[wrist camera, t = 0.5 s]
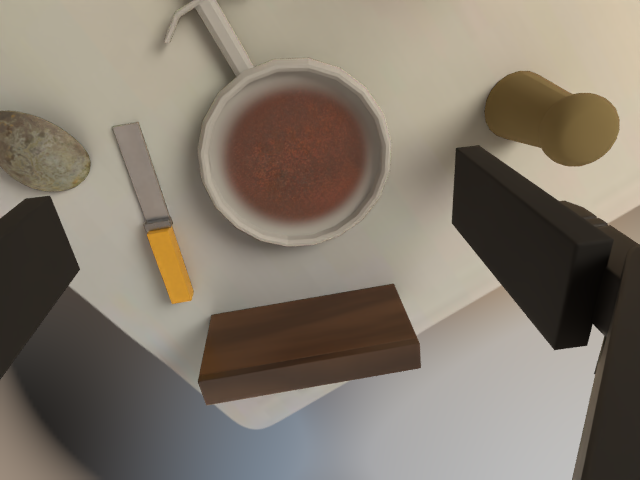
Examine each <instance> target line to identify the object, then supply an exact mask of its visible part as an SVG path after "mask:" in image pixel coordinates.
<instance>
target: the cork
mask: <svg viewBox="0 0 640 480" xmlns="http://www.w3.org/2000/svg"><path fill="white" fill-rule="evenodd" d="M484 112H485V120H486V123H487V125H488V127H489V129H490V130H491V131H492V132H493V133H494V134H496V135H497V136H499V137H502V138H505V139H509V140H513V141H517V142H520V143H524V144H528V145H532V146H536V147H540V148H542V150H543V151H544V153H545V154H546V155H547V156H548V157H549V158H550V159H551V160H553V161H554V162H556V163H559V164H562V165H565V166H583V165H586V164H589V163H592V162H594V161H596V160H597V159H599V158H601V157H602V156H604V155H605V154H606V153H607V152H608V151H609V150H610V149H611V147H612V145H613V144H614V142H615V141H616V139H617V135H618V132H619V116H618V114H617V111H616V108H615V107H614V106H613V105H612V104H611V103H610V102H609V101H608V100H607V99H606V98H604V97H601V96H599V95H596V94H592V93H578V94H571V93H569V92H567V91H566V90H564V89H562V88H561V87H559V86H557V85H555V84H554V83H552V82H550V81H548V80H547V79H545V78H543V77H541V76H540V75H538V74H535V73H533V72H530V71H518V72H515V73H512V74H509V75H507V76H506V77H504V78H503V79H502V80H500V81H499V82H498V83H497V84H496V85H495V87H494V88H493V89H492V90H491V92H490V94H489V96H488V98H487V100H486V105H485V111H484Z"/></svg>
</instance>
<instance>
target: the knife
mask: <svg viewBox="0 0 640 480" xmlns="http://www.w3.org/2000/svg"><path fill="white" fill-rule="evenodd" d="M112 128H113V131H114V133H115V136H116V139H117V142H118V144H119V147H120V150H121V153H122V155H123V158H124V161H125V164H126V167H127V169H128V172H129V175H130V178H131V180H132V183H133V186H134V189H135V192H136V194H137V197H138V200H139V203H140V205H141V208H142V211H143V214H144V216H145V219H146V222H145V223H144V227H145V230H146V232H148V231H149V232H148V233H147V237H148V240H149V242H150V245H151V248H152V251H153V253H154V256H155V259H156V261H157V264H158V267H159V270H160V272H161V275H162V278H163V281H164V283H165V286H166V289H167V292H168V294H169V297H170V300H171V302H172V304H175V303H180V302H186V301H191V300H192V296H193V293H194V291H193V288H192V285H191V282H190V279H189V276H188V273H187V270H186V267H185V264H184V261H183V258H182V255H181V252H180V249H179V246H178V243H177V240H176V237H175V234H174V231H173V228H172V224H173V222H172V219H171V217H169V213H168V210H167V207H166V204H165V201H164V198H163V194H162V191H161V188H160V185H159V182H158V179H157V176H156V173H155V170H154V167H153V164H152V161H151V158H150V155H149V152H148V149H147V146H146V143H145V140H144V137H143V134H142V131H141V128H140V125H139V122H136V123H130V124H124V125H118V126H113V127H112Z"/></svg>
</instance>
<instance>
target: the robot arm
mask: <svg viewBox="0 0 640 480" xmlns="http://www.w3.org/2000/svg"><path fill="white" fill-rule="evenodd" d="M452 224H453V225H454V226H455V228H456V229H457V230H458V231H459V233H460V234H461V235H462V236H463V238H464V239H465V240H466V241H467V243H468V244H469V245H470V246H471V247H472V249H473V250H474V251H475V252H476V254H477V255H478V256H479V257H480V259H481V260H482V261H483V262H484V264H485V265H486V266H487V267H488V269H489V270H490V271H491V272H492V273H493V275H494V276H495V277H496V278H497V280H498V281H499V282H500V283H501V285H502V286H503V287H504V288H505V290H506V291H507V292H508V293H509V294H510V296H511V297H512V298H513V299H514V301H515V302H516V303H517V304H518V306H519V307H520V308H521V309H522V310H523V312H524V313H525V314H526V315H527V317H528V318H529V319H530V320H531V322H532V323H533V324H534V325H535V327H536V328H537V329H538V330H539V331H540V333H541V334H542V335H543V336H544V338H545V339H546V340H547V341H548V343H549V344H550V345H551V346H552V348H553V349H554V350H558V349H565V348H573V347H580V346H587V344H588V340H589V336H590V332H591V328H592V324H594V325H595V327H596V328H598V330H599V331H600V332H601V333H603V334H604V340H603V344H602V347H601V351H600V355H599V359H598V362H597V366H596V369H595V373H594V374H595V378H594V383H593V387H592V392H591V396H590V401H589V406H588V410H587V415H586V419H585V424H584V428H583V433H582V438H581V442H580V447H579V451H578V455H577V460H576V464H575V469H574V473H573V478H572V480H640V245H639V244H638V243H636V242H634V241H633V240H632V239H630V238H629V237H627V236H626V235H624V234H623V233H621V232H620V231H618V230H617V229H615V228H614V227H612V226H610V225H609V226H608V225H607V223H606V222H604V221H603V220H601V219H600V218H597V217H596V216H595V215H594V214H592V213H591V212H589V211H588V210H586V209H585V208H583V207H581V206H578V205H575V204H572V203H569V202H567V201H558V200H556V199H555V198H554V197H552V196H551V195H549V194H548V193H546V192H545V191H544V190H542V189H541V188H539V187H538V186H536V185H535V184H533V183H532V182H531V181H529V180H528V179H526V178H525V177H523V176H522V175H521V174H519V173H518V172H516V171H515V170H513V169H512V168H510V167H509V166H508V165H506V164H505V163H503V162H502V161H500V160H499V159H498V158H496V157H495V156H493V155H492V154H490V153H489V152H488V151H486V150H485V149H483V148H482V147H480V146H479V145H478V146H470V147H461V148H456V157H455V175H454V193H453V211H452ZM79 270H80V268H79V266H78V263H77V261H76V258H75V256H74V253H73V251H72V248H71V246H70V243H69V241H68V239H67V236H66V234H65V231H64V229H63V226H62V224H61V221H60V219H59V216H58V214H57V212H56V209H55V207H54V204H53V202H52V199H51V197H50V196H44V197H35V198H27V199H24V200H23V201H22V202H21V203H19V204H18V205H17V206H16V207H14V208H13V209H12V210H11V211H9V212H8V213H7V214H6V215H4V216H3V217H2V218H1V219H0V379H1V378H2V377H3V375H4V374H5V373H6V371H7V370H8V368H9V367H10V366H11V364H12V363H13V361H14V360H15V359H16V357H17V356H18V354H19V353H20V352H21V350H22V349H23V347H24V346H25V345H26V343H27V342H28V341H29V339H30V338H31V336H32V335H33V334H34V332H35V331H36V330H37V328H38V327H39V325H40V324H41V323H42V321H43V320H44V318H45V317H46V316H47V314H48V313H49V311H50V310H51V309H52V307H53V306H54V305H55V303H56V302H57V300H58V299H59V298H60V296H61V295H62V293H63V292H64V291H65V289H66V288H67V287H68V285H69V284H70V282H71V281H72V280H73V278H74V277H75V276H76V274H77V273H78V271H79Z"/></svg>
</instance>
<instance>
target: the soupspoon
mask: <svg viewBox="0 0 640 480" xmlns="http://www.w3.org/2000/svg"><path fill="white" fill-rule="evenodd" d="M0 166H1V167H2V169H3V170H4V171H5V172H6V173H8V174H9V175H10V176H11V177H13V178H14V179H16V180H17V181H19V182H20V183H22V184H24V185H26V186H28V187H31V188H34V189H38V190H43V191H63V190H68V189H71V188H74V187H76V186H78V185H79V184H80V183H81V182H83V181H84V180H85V178H86V176H87V175H88V173H89V170H90V158H89V155H88V154H87V152H86V150H85V149H84V148H83V147H82V146H81V144H80V143H79V142H78V141H77V140H76V139H74V138H73V137H72V136H71V135H70V134H68V133H67V132H66V131H64V130H63V129H61V128H60V127H58V126H56V125H54V124H52V123H50V122H48V121H46V120H44V119H41V118H39V117H36V116H33V115H30V114H26V113H21V112H16V111H0Z"/></svg>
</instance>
